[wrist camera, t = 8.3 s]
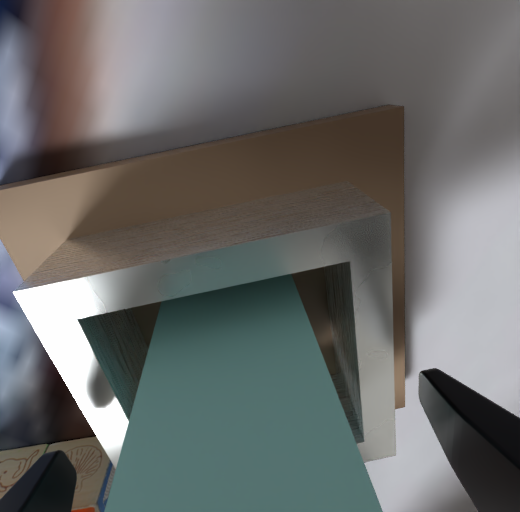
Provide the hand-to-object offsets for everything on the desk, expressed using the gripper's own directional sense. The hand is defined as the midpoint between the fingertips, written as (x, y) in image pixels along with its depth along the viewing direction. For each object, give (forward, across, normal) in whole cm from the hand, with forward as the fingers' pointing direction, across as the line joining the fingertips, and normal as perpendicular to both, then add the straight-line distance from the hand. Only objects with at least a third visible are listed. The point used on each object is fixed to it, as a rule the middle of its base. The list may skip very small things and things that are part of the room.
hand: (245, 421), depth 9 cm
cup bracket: (+5, 0, 0) cm, 5 cm away
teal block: (+4, 0, 0) cm, 4 cm away
